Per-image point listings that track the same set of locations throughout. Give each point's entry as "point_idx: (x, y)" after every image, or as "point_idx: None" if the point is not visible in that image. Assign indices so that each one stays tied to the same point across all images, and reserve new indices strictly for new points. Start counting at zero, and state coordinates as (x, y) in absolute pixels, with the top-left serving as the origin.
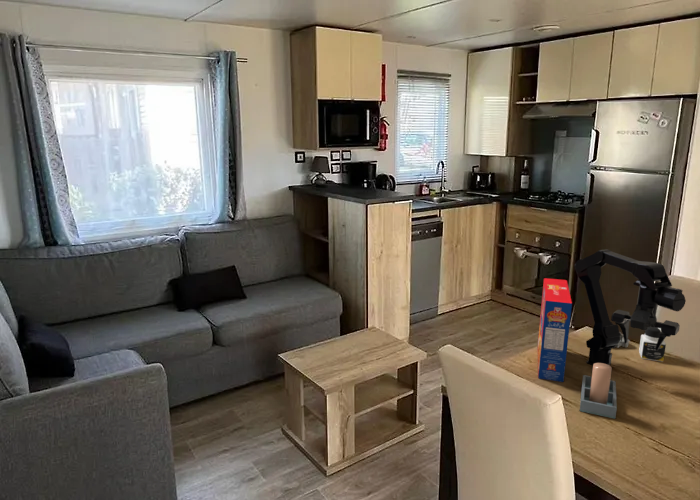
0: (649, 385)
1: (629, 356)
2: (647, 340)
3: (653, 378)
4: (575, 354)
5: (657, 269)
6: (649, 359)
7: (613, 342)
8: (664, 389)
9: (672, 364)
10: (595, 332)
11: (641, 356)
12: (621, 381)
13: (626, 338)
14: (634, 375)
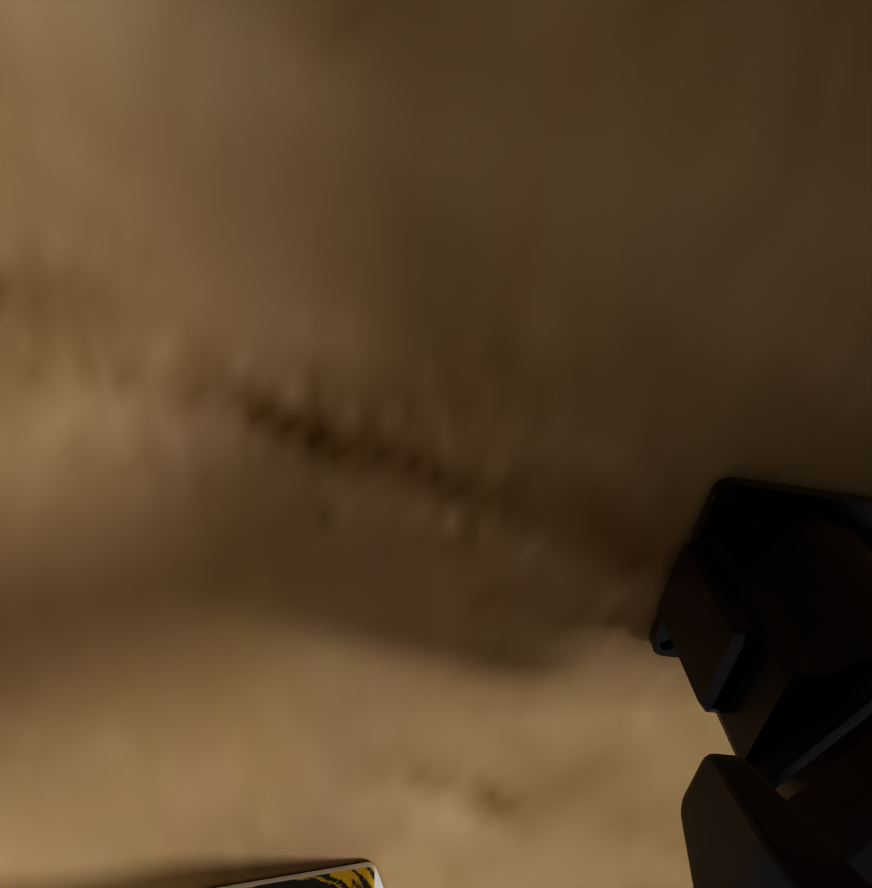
0: (191, 321)
1: (476, 850)
2: None
3: (194, 534)
4: None
5: None
6: (307, 874)
7: (820, 819)
8: (9, 309)
9: (117, 885)
10: None
11: (376, 882)
12: (522, 235)
13: (779, 872)
14: (391, 496)
